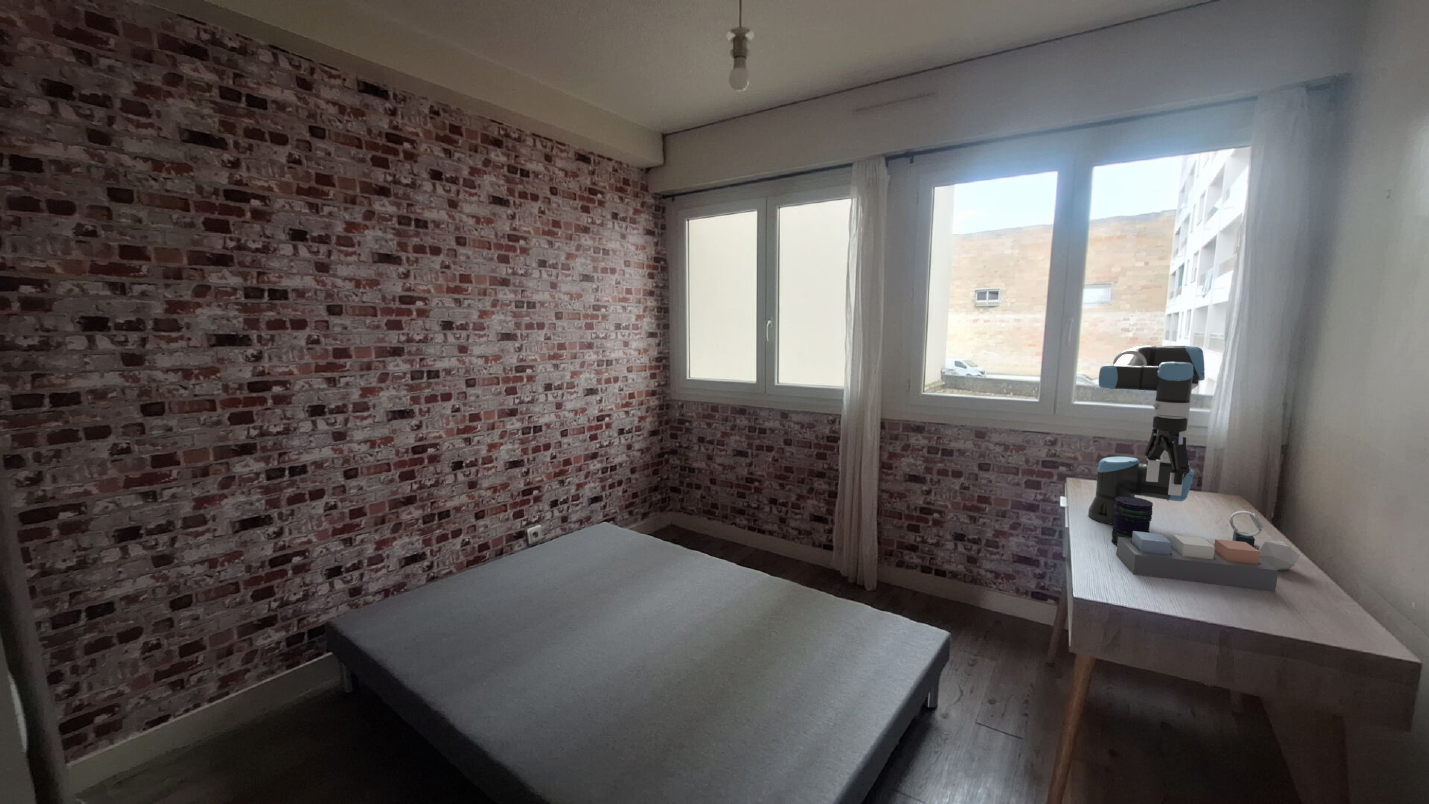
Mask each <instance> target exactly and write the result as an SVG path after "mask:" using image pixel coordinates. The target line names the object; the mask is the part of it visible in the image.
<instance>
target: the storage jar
mask: <svg viewBox="0 0 1429 804" xmlns="http://www.w3.org/2000/svg"><path fill="white" fill-rule="evenodd" d="M1115 501H1116V502H1115V506H1114V509H1115V510H1114V515H1115V519H1114V525H1113V524H1112V530H1111V543H1112V544H1113V545H1115V546H1117V541H1118V537H1125V538H1132V535H1133V531H1137V532H1148V533H1151V531H1150V525H1151V521H1152V519H1153V518H1152V517H1153V506H1154V503H1153V502H1152V501H1150V500H1148V499H1145V498H1142V497H1141V498H1140V497H1136V496H1135V497H1129V496H1119V497H1116V500H1115Z"/></svg>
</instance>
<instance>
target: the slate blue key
mask: <svg viewBox="0 0 1429 804" xmlns="http://www.w3.org/2000/svg"><path fill="white" fill-rule="evenodd" d="M1171 542H1172V541H1170V540H1169V539H1168V538H1167V537H1166V536H1164V535H1163V534H1162V533H1156V532H1150V533H1148V532H1137V531H1133V535H1132V544H1133V545H1134V546H1135V547H1136V548H1137V549H1138V550H1139V551H1140V552H1150V553H1159V554H1168V555H1170V551H1171Z"/></svg>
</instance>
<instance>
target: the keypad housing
mask: <svg viewBox="0 0 1429 804" xmlns="http://www.w3.org/2000/svg"><path fill="white" fill-rule="evenodd" d="M1170 542H1171V551H1170V555H1168V554H1159V553H1150V552H1140V551H1139V550H1138V549H1137V548H1136V547H1135V546H1134V545H1133V544H1132V538H1125V537H1118V541H1117V545H1116V552H1115V553H1116V554H1115V555H1116V556H1117V558H1118V559H1119V560H1120V561H1121V562H1122V563H1123V565H1125V567H1126V568H1127V569H1128V570H1129V571H1130V572H1131V573H1132V575H1138V576H1146V577H1153V578H1161V579H1162V578H1163V579H1172V580H1179V581H1187V582H1195V583H1204V584H1210V585H1211V584H1213V585H1219V586H1220V585H1221V586H1228V587H1229V586H1230V587H1236V588H1246V589H1254V590H1262V591H1271V592H1276V589H1277V580H1278V576H1279V570H1277V569H1276V568H1274V567H1273V566H1271V565H1270V564H1268V563H1267V562H1265V561H1264V560H1262V559H1261V558H1259V564H1251V563H1242V562H1233V561H1225V560H1224V559H1223V558H1221V557H1220V556H1219V555H1217V554H1216V553H1215V552H1214V558H1213V559H1205V558H1196V557H1187V556H1181V555H1180V554H1179V553H1178V552H1176V551H1175V550H1174V549H1173V548H1172V541H1170Z"/></svg>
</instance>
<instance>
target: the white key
mask: <svg viewBox="0 0 1429 804" xmlns="http://www.w3.org/2000/svg"><path fill="white" fill-rule="evenodd" d="M1171 542H1172V548H1173V549H1174V550H1175V551H1176V552H1178V553H1179V554H1180V555H1181V556H1187V557H1196V558H1205V559H1213V558H1214V550H1215V547H1214V544H1211V543H1210V542H1209V541H1207V540H1206V539H1204V538H1203V537H1199V536H1197V537H1196V536H1186V535H1176V534H1172V541H1171Z"/></svg>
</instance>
